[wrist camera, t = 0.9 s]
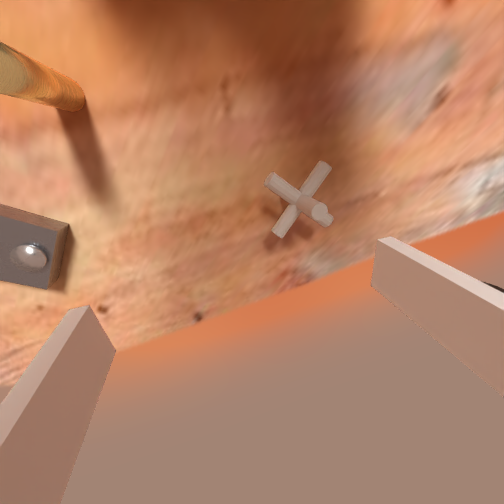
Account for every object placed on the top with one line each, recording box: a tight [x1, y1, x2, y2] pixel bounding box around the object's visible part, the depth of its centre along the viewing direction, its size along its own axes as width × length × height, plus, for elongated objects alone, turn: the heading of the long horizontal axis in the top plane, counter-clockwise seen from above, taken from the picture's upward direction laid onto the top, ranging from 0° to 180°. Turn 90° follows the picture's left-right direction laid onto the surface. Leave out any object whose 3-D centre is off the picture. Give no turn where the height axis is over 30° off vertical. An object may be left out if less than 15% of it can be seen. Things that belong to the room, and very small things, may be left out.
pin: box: [0, 42, 85, 112], centre depth 18 cm, size 3×3×12 cm
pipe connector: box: [264, 160, 333, 238], centre depth 29 cm, size 10×10×10 cm
